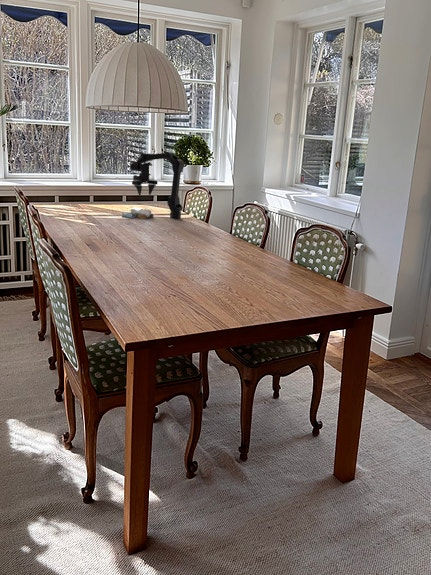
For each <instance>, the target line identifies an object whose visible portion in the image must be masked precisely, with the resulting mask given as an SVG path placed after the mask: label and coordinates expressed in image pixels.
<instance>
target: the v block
mask: <svg viewBox="0 0 431 575" xmlns="http://www.w3.org/2000/svg"><path fill="white" fill-rule="evenodd" d="M121 214H122V215H121V217H122V218H128V219H131V220H132V219H138V218H137V214H135V213H131V212H130V213H129V212H125V213H124V212H122V213H121Z"/></svg>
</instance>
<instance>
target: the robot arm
mask: <svg viewBox="0 0 431 575" xmlns="http://www.w3.org/2000/svg"><path fill="white" fill-rule="evenodd" d="M163 159H167V160H168V163H169V164H171V169H172V172H173V175H172V183H171V184H172V185H171V193H170V196H167V201H166V203H167V207H168V208H169V211H170V212H169V218H170V219H172V220H181V219H182V218H181V217H182V210H183V206H182V204H181V203H180V201H181V200H180V196H179V192H180V182H181V175H182V172H183V170H184V167H185V162H184V161H183V159H180V158H179V157H178V156H176V155H175V154H174V153H173V152H170V151H169V152H168V151H167V152H162V153H160V152H159V153H150V152H149V153H146V152H143V153H141V154H140V155H139V157H138V159H137V160H132V161H131V163H130V166H129V167H130V168H129V169H130V171H131V172H140V173H139V174H138V175H137V174H135V175H134V174H133V177H132V179H133V180H132V181H131V185H132V186H134V187H135V188H136V191H137V193H138V194H137V195H138V196H141V194H142V188H143V185H146V184H147V186H148V196H150V195H152V193H153V191H154V189H155V187H156V186H157V185H158V181H157V180H156V179H150V176H152V174H151V173H150V167H151V166H153V164H152V163H151V162H153V161H155V160H163Z"/></svg>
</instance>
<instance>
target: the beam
mask: <svg viewBox="0 0 431 575" xmlns="http://www.w3.org/2000/svg"><path fill="white" fill-rule="evenodd" d="M129 213H131V211H130V212H129ZM135 214H136V213H135ZM120 215H121V216H122V213H121V214H120ZM136 219H142V220H148V219H154V213H151V217H150V218H147V215H142V214H137V218H136Z"/></svg>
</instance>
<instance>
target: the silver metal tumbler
mask: <svg viewBox="0 0 431 575" xmlns="http://www.w3.org/2000/svg"><path fill="white" fill-rule="evenodd" d="M130 213H136V214H142V215H147V218H149V219H151V218H150V217H151V214H152V210H151V209H146V208H142V207H134V206H133V207H131V208H130Z"/></svg>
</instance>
